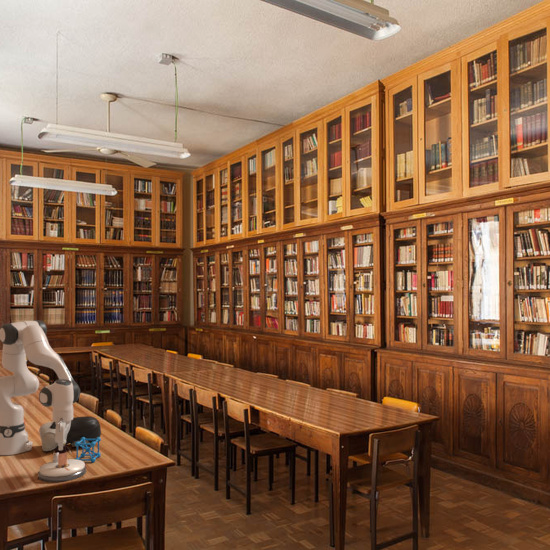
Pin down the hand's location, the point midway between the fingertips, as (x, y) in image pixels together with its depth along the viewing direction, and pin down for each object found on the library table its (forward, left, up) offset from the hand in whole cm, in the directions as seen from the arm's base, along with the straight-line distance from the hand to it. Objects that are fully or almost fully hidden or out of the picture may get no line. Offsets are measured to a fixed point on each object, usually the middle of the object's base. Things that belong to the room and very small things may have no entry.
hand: (62, 446), depth 238 cm
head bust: (-41, -4, -13) cm, 43 cm away
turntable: (0, 0, -10) cm, 10 cm away
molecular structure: (-19, +8, -13) cm, 24 cm away
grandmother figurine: (+2, 0, -9) cm, 9 cm away
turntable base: (0, 0, -12) cm, 12 cm away
